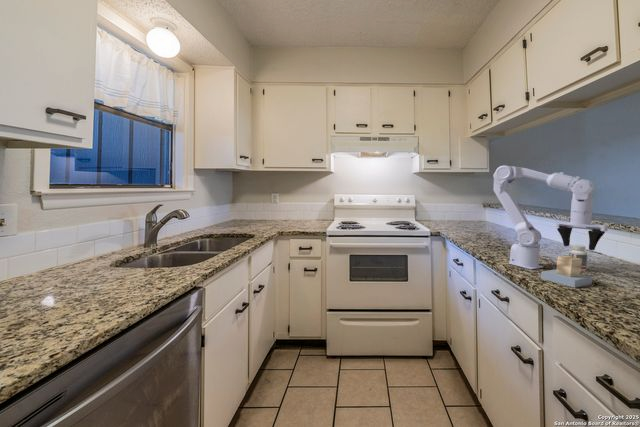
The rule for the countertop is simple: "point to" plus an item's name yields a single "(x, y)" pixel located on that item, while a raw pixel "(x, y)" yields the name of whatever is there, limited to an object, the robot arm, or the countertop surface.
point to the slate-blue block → (566, 279)
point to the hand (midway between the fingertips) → (578, 247)
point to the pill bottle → (579, 255)
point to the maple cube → (569, 266)
